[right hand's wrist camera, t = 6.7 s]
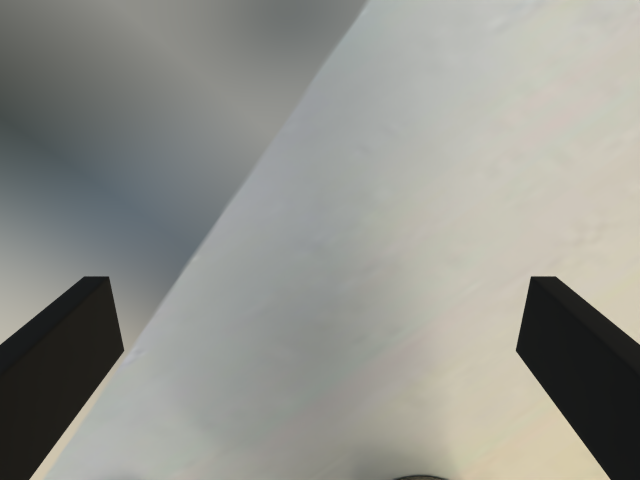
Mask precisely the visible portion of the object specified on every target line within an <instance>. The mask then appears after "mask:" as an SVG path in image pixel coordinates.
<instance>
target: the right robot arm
mask: <svg viewBox="0 0 640 480" xmlns="http://www.w3.org/2000/svg"><path fill="white" fill-rule="evenodd" d="M123 352H124V347H123V342H122V338H121V333H120V328H119V323H118V318H117V313H116V308H115V304H114V299H113V294H112V289H111V284H110V279H109V277H83V278H82V279H81V280H79V281H78V282H77V283H76V284H74V285H73V286H72V287H71V288H70V289H68V290H67V291H66V292H65V293H63V294H62V295H61V296H60V297H59V298H57V299H56V300H55V301H54V302H52V303H51V304H50V305H49V306H47V307H46V308H45V309H44V310H43V311H41V312H40V313H39V314H38V315H36V316H35V317H34V318H33V319H31V320H30V321H29V322H28V323H27V324H25V325H24V326H23V327H22V328H20V329H19V330H18V331H17V332H16V333H14V334H13V335H12V336H11V337H9V338H8V339H7V340H6V341H4V342H3V343H2V344H1V345H0V480H29V479H30V478H31V477H32V475H33V474H34V472H35V471H36V470H37V468H38V467H39V466H40V464H41V463H42V462H43V460H44V459H45V458H46V456H47V455H48V454H49V452H50V451H51V449H52V448H53V447H54V445H55V444H56V443H57V441H58V440H59V439H60V437H61V436H62V434H63V433H64V432H65V430H66V429H67V428H68V426H69V425H70V424H71V422H72V421H73V420H74V418H75V417H76V416H77V414H78V413H79V411H80V410H81V409H82V407H83V406H84V405H85V403H86V402H87V401H88V399H89V398H90V396H91V395H92V394H93V392H94V391H95V390H96V388H97V387H98V386H99V384H100V383H101V382H102V380H103V379H104V377H105V376H106V375H107V373H108V372H109V371H110V369H111V368H112V367H113V365H114V364H115V363H116V361H117V360H118V358H119V357H120V356H121V354H122V353H123ZM516 352H517V353H518V354H519V356H520V357H521V358H522V360H523V361H524V363H525V364H526V365H527V367H528V368H529V369H530V371H531V372H532V373H533V375H534V376H535V377H536V379H537V380H538V382H539V383H540V384H541V386H542V387H543V388H544V390H545V391H546V392H547V394H548V395H549V396H550V398H551V399H552V401H553V402H554V403H555V405H556V406H557V407H558V409H559V410H560V411H561V413H562V414H563V416H564V417H565V418H566V420H567V421H568V422H569V424H570V425H571V426H572V428H573V429H574V430H575V432H576V433H577V435H578V436H579V437H580V439H581V440H582V441H583V443H584V444H585V445H586V447H587V448H588V449H589V451H590V452H591V454H592V455H593V456H594V458H595V459H596V460H597V462H598V463H599V464H600V466H601V467H602V468H603V470H604V471H605V473H606V474H607V475H608V477H609V478H610V479H611V480H640V345H639V344H638V343H637V342H636V341H634V340H633V339H632V338H631V337H629V336H628V335H627V334H626V333H625V332H623V331H622V330H621V329H620V328H618V327H617V326H616V325H615V324H613V323H612V322H611V321H610V320H609V319H607V318H606V317H605V316H604V315H602V314H601V313H600V312H599V311H597V310H596V309H595V308H594V307H593V306H591V305H590V304H589V303H588V302H586V301H585V300H584V299H583V298H581V297H580V296H579V295H578V294H577V293H575V292H574V291H573V290H572V289H570V288H569V287H568V286H567V285H566V284H564V283H563V282H562V281H561V280H559V279H558V278H557V277H531V279H530V284H529V289H528V294H527V299H526V304H525V308H524V313H523V318H522V323H521V328H520V333H519V338H518V342H517V347H516ZM399 480H442V479H438V478H433V477H423V476H419V477H408V478H403V479H399Z"/></svg>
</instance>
